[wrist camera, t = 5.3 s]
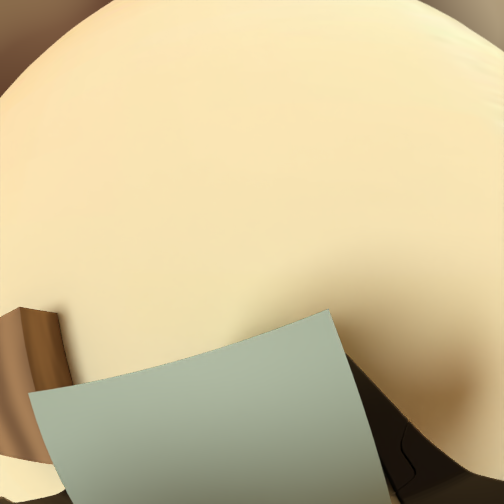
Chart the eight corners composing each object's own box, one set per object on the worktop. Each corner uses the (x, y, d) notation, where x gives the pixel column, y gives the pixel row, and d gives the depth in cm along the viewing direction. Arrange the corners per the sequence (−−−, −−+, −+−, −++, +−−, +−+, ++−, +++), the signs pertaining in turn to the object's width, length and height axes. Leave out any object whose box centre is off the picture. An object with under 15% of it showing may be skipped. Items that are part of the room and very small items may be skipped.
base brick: (24, 446, 16) (-4, 453, 12) (-4, 339, 19) (-34, 336, 15) (96, 450, 15) (62, 465, 11) (56, 313, 18) (19, 306, 15)
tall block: (247, 432, 14) (143, 595, 2) (218, 354, 16) (28, 392, 3) (331, 406, 14) (406, 570, 2) (302, 325, 16) (328, 309, 3)
